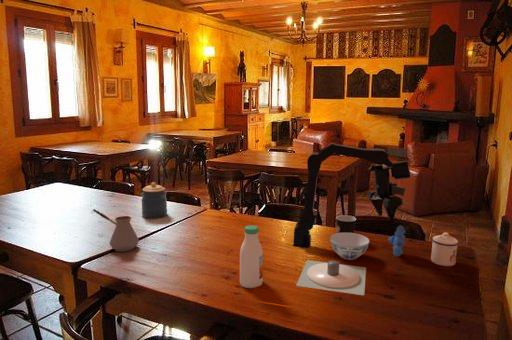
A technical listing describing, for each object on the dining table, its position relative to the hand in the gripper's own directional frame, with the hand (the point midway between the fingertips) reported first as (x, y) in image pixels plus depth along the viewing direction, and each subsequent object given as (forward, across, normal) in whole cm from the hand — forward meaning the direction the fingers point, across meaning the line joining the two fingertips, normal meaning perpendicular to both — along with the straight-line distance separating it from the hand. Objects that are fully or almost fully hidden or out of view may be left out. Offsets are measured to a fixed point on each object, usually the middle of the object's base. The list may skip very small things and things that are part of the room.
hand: (386, 218), depth 164 cm
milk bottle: (+7, -18, +60) cm, 63 cm away
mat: (+11, -18, +31) cm, 37 cm away
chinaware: (+12, -2, +18) cm, 22 cm away
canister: (-4, +67, +96) cm, 117 cm away
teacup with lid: (+18, -10, -17) cm, 27 cm away
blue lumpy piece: (+15, -2, -2) cm, 15 cm away
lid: (+11, -18, +31) cm, 37 cm away
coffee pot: (-3, +24, +109) cm, 112 cm away
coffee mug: (+12, +18, +12) cm, 25 cm away
